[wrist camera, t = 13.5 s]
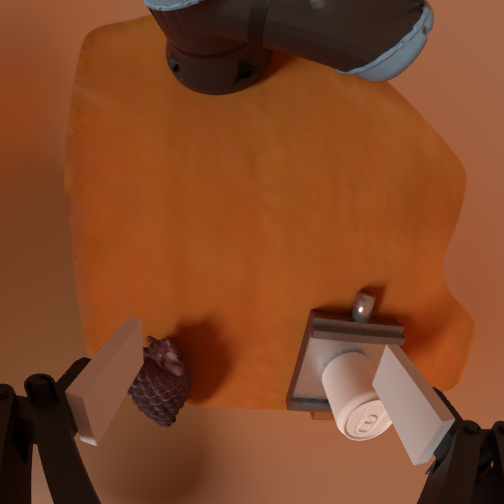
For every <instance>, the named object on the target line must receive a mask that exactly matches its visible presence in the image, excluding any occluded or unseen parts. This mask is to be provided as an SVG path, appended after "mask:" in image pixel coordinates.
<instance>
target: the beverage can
mask: <svg viewBox="0 0 504 504" xmlns="http://www.w3.org/2000/svg"><path fill="white" fill-rule="evenodd" d="M376 372H377V370H376V368H375V367H374V365H373V364H372V362H371V361H370V359H369V358H368V357H367V356H366V355H364V354H362V353H358V352H349V353H345V354H342V355H340V356H338V357H336V358H335V359H333V360H332V361H331V362H330V363H329V364H328V365H327V366H326V368H325V370H324V372H323V375H322V383H323V386H324V389H325V392H326V395H327V398H328V400H329V403H330V406H331V409H332V412H333V415H334V418H335V421H336V423H337V426H338V428H339V430H340V431H341V432H342V433H343V434H345V435H346V436H347V437H348V438H350V439H352V440H367V439H370V438H373V437H376V436H378V435H379V434H381V433H383V432H384V431H385V430H386V429H387V428H388V427H389V426H390V425H391V424H392V421H391V419H390V417H389V415H388V413H387V412H386V410H385V408H384V406H383V404H382V402H381V400H380V398H379V396H378V394H377V393H376V391H375V389H374V387H373V385H372V383H373V380H374V377H375V375H376Z"/></svg>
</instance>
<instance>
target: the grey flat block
mask: <svg viewBox="0 0 504 504" xmlns="http://www.w3.org/2000/svg"><path fill="white" fill-rule="evenodd" d="M375 300H376V295H374V294H372V293H369V292H365V291H357V295H356V298H355V302H354V306H353V309H352V313H351V315H349V314H340V313H332V312H325V311H317V310H310V313H309V317H308V321H307V325H306V329H305V333H304V337H303V341H302V344H301V348H300V352H299V355H298V359H297V363H296V366H295V370H294V373H293V377H292V380H291V383H290V387H289V390H288V393H287V397H286V404H287V410H293V411H309V412H310V413H311V417H312V420H335V418H334V415H333V412H332V409H331V406H330V403H329V400H328V398H327V395H326V392H325V389H324V386H323V383H322V375H323V372H324V370H325V368H326V366H327V365H328V364H329V363H330V362H331V361H332V360H333V359H335V358H336V357H338V356H340V355H342V354H345V353H349V352H358V353H362V354H364V355H366V356H367V357H368V358H369V359H370V361H371V362H372V364H373V365H374V367H375V368H376V370H377V369H378V367H379V364H380V361H381V358H382V355H383V352H384V349H385V346H386V344H398V345H399V346H404V343H405V340H406V338H405V337H404V336H403V335H402V333H403V330H404V326H403V325H402V324H401V323H400V322H398V321H397V320H394V319H384V318H375V317H371V314H372V311H373V307H374V304H375Z"/></svg>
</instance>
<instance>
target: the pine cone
mask: <svg viewBox="0 0 504 504" xmlns="http://www.w3.org/2000/svg"><path fill="white" fill-rule="evenodd" d="M145 342H146V344H147V345H148V348H146V347H144V348H143V360H144V363H143V365H142V367H141V369H140V370H139V372H138V374H137V375H136V377H135V379H134V381H133V382H132V384H131V386H130V388H129V389H128V391H127V393H128V395H132V398H133V402H134V403H135V404H136V405H137V407H138V409H139V410H140V411H141V412H144V413H145V415H146V416H147V417H148V418H151V419H153V420H154V421H156V423H157V424H159V425H160V426H165V427H170V426H171V423H174V422H176V417H175V415H177V414H178V412H179V409H180V408H182V407H183V405H184V402H186V400H187V399H188V398H189V391H190V389H191V388H190V387H191V383H190V380H189V379H190V376H189V373H188V372H187V367H186V365H184V363H183V360H182V359H181V358H179V357H180V355H181V352H180V350H179V349H178V348H177V347H176V346H175V345H174V344H172V343H171V342H170V339H169V338H166V340H165V339H162V340H161V341H160V340H156V339H155V338H153V337H151V336H147V338H146V340H145Z"/></svg>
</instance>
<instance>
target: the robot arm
mask: <svg viewBox="0 0 504 504" xmlns="http://www.w3.org/2000/svg"><path fill="white" fill-rule="evenodd" d="M143 1H144V3H145V4H146V5H147V7H148V8H149V10H150V11H151V13H152V15H153V16H154V18H155V19H156V21H157V23H158V24H159V26H160V27H161V29H162V31H163V32H164V34H165V35H166V37H167V45H166V58H167V62H168V65H169V68H170V69H171V71H172V73H173V74H174V76H175V77H176V78H177V80H178V81H179V82H180V83H182V84H183V85H184V86H186V87H187V88H189V89H191V90H193V91H196V92H199V93H203V94H209V95H223V94H229V93H233V92H237V91H239V90H242V89H244V88H246V87H248V86H250V85H251V84H253V83H254V82H255V81H257V80H258V79H259V78H260V77H261V76H262V75H263V74H264V72H265V71H266V69H267V68H268V66H269V64H270V61H271V57H272V51H273V50H276V51H280V52H284V53H287V54H291V55H294V56H298V57H301V58H304V59H308V60H311V61H314V62H317V63H320V64H323V65H326V66H329V67H332V68H335V70H336V71H337V72H340V73H342V74H351V75H354V76H357V77H360V78H362V79H365V80H368V81H371V82H381V81H387V80H390V79H392V78H394V77H396V76H398V75H399V74H401V73H402V72H403V71H404V70H405V69H406V68H408V67H409V65H410V64H411V63H412V62H413V61H414V60H415V59H416V58H417V56H418V55H419V54H420V52H421V51H422V49H423V47H424V46H425V44H426V42H427V37H426V35H427V34H428V33H429V32H430V31H431V30H432V26H433V20H434V19H433V18H434V17H433V10H432V8H431V6H430V5H429V3H428V2H427V1H426V0H143ZM143 363H144V360H143V342H142V320H140V319H135V318H130V317H128V318H127V319H126V321H125V322H124V323H123V324H122V325H121V326H120V327H119V328H118V330H117V331H116V332H115V333H114V334H113V335H112V336H111V338H110V339H109V340H108V341H107V342H106V343H105V344H104V346H103V347H102V348H101V349H100V350H99V351H98V353H97V354H96V355H95V356H94V357H93V358H92V359H89V358H85V357H83V358H81V359H79V360H77V361H75V362H74V363H73V364H72V365H71V367H70V368H69V369H68V370H67V371H66V372H65V374H63V376H62V377H61V378H60V379H59V380H58V381H57V382H56V383H55V381H54V379H53V378H52V377H51V376H50V375H47V374H34V375H31V376H30V377H28V378H27V379H26V380H25V382H24V388H25V390H26V393H27V396H28V397H23V396H18V395H16V393H15V391H14V389H13V388H12V387H11V386H10V385H7V384H0V504H31V469H32V452H33V444H37V446H38V450H39V454H40V458H41V463H42V466H43V470H44V473H45V477H46V480H47V484H48V487H49V490H50V493H51V496H52V499H53V502H54V504H101V502H100V500H99V498H98V496H97V494H96V492H95V490H94V487H93V486H92V483H91V481H90V479H89V477H88V474H87V471H86V469H85V467H84V464H83V462H82V459H81V457H80V454H79V451H78V448H77V446H76V443H75V440H74V437H75V435H76V433H77V432H78V434H79V437H80V439H81V441H84V442H87V443H89V444H92V445H95V446H97V445H98V444H99V442H100V440H101V438H102V436H103V434H104V432H105V431H106V429H107V427H108V425H109V423H110V421H111V420H112V418H113V416H114V414H115V412H116V411H117V409H118V407H119V405H120V404H121V402H122V400H123V398H124V396H125V395H126V393H127V391H128V389H129V388H130V386H131V384H132V382H133V381H134V379H135V377H136V375H137V374H138V372H139V370H140V369H141V367H142V365H143ZM372 385H373V387H374V389H375V391H376V393H377V394H378V396H379V398H380V400H381V402H382V404H383V406H384V408H385V410H386V412H387V413H388V415H389V417H390V419H391V421H392V423H393V425H394V427H395V429H396V431H397V433H398V435H399V437H400V439H401V441H402V443H403V445H404V446H405V449H406V451H407V453H408V455H409V457H410V459H411V461H412V463H413V465H417V464H421V463H426V462H427V461H428V460H429V459H430V457H431V456H432V454H434V455H435V457H436V460H435V461H434V462H433V464H432V465H431V466H430V468H429V469H428V470H427V471H426V473H425V474H428V472H429V471H430V472H429V475H428V478H427V480H426V483H425V485H424V488H423V490H422V493H421V495H420V498H419V500H418V502H417V504H504V421H497V422H495V424H494V425H493V427H492V428H491V429H481V428H480V426H479V425H478V424H477V423H475V422H473V421H470V420H463V419H462V418H461V416H460V415H459V414H458V412H457V411H456V410H455V409H454V407H453V406H452V405H451V404H450V402H449V401H448V400H447V398H446V397H445V396H444V394H443V393H442V392H441V391H439V390H438V389H436V388H435V387H431V386H430V384H429V383H428V382H427V381H426V379H425V378H424V377H423V375H422V374H421V373H420V372H419V370H418V369H417V368H416V367H415V365H414V364H413V363H412V362H411V360H410V359H409V358H408V357H407V355H406V354H405V353H404V352H403V350H402V349H401V348H400V347H399V345H398V344H386V346H385V349H384V352H383V355H382V358H381V361H380V364H379V367H378V369H377V372H376V375H375V377H374V380H373V383H372ZM492 463H493V467H492V465H491V464H492Z"/></svg>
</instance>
